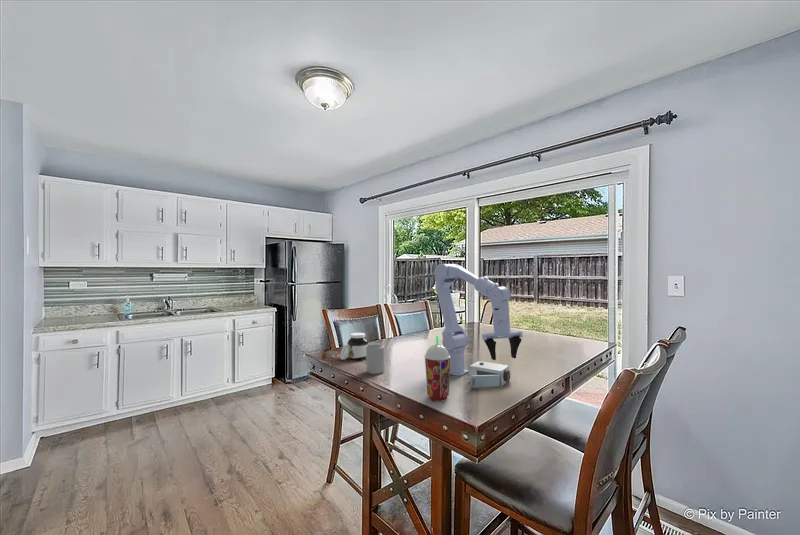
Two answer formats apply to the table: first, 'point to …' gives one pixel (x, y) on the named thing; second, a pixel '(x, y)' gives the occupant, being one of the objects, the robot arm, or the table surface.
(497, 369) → the camera body
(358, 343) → the spread jar
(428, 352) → the smoothie
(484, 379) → the side door
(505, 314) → the robot arm
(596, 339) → the table surface
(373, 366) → the can
